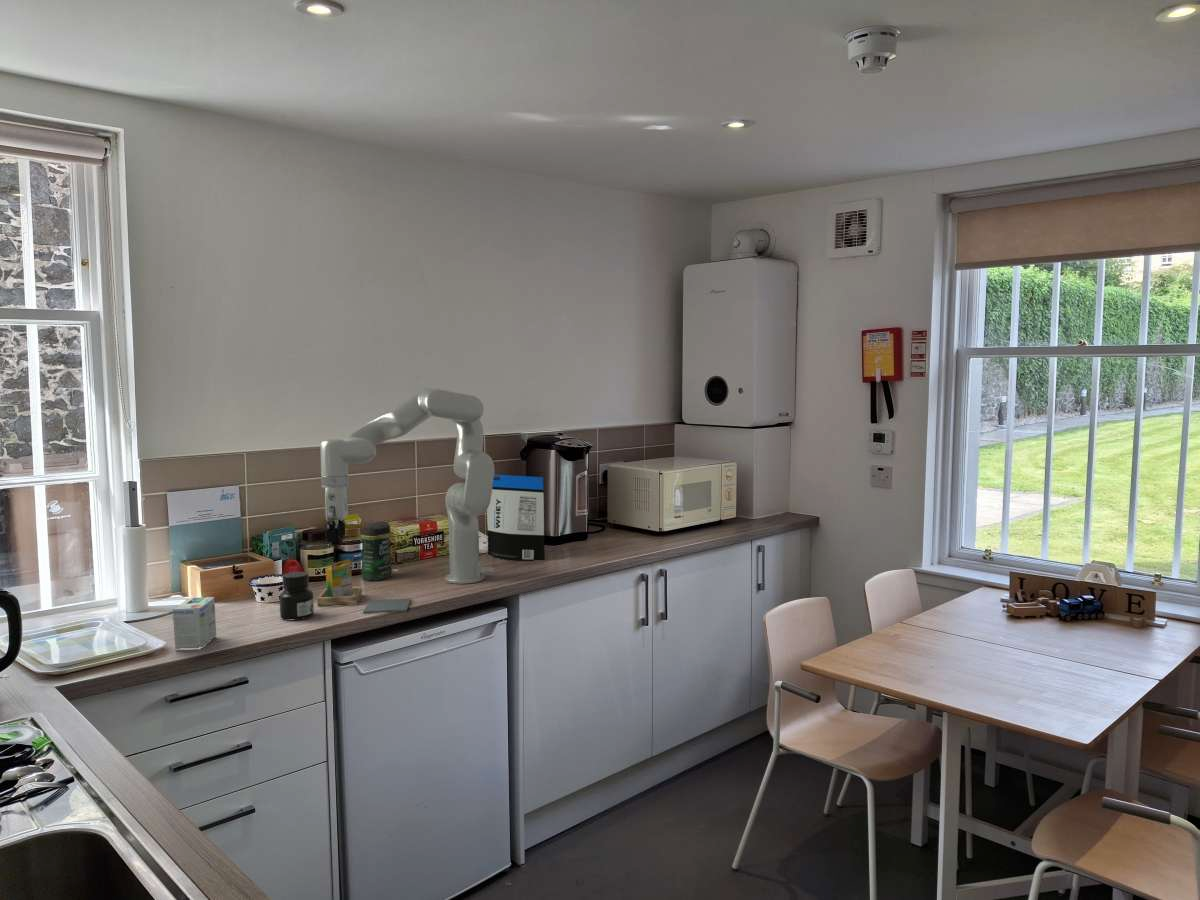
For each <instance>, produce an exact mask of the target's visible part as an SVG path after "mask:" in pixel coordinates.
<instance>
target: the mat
mask: <svg viewBox="0 0 1200 900" xmlns="http://www.w3.org/2000/svg"><path fill="white" fill-rule="evenodd" d="M411 601H412V598H390V599H389V598H388V599H387V598H386V599H369V600H368V602H367V604H366V606H365V607H364V610H362V613H365V614H372V613H371V612H388V613H405V612H406V613H407V611H408V608H409V607H408V606H410V604H409V603H411Z"/></svg>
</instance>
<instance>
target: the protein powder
mask: <svg viewBox="0 0 1200 900" xmlns="http://www.w3.org/2000/svg"><path fill="white" fill-rule="evenodd" d="M544 500H545V499H544V477H543V476H525V475H523V476H522V475H505V474H494V479H493V487H492V494H491V500H490V504H489V507H488V509H487V510H486V519H487V555H488V556H491V557H492V556H493V558H495V559H498V558H499V559H500V560H503V559H504V560H505V561H510V560H513V561H514V562H535V561H534V560H542V561H543V560H545V561H546V559H545V557H546V556H545V516H544V515H545V509H544V507H545V505H544V504H545V501H544ZM499 559H498V560H499Z"/></svg>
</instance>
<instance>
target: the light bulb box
mask: <svg viewBox="0 0 1200 900" xmlns="http://www.w3.org/2000/svg"><path fill="white" fill-rule="evenodd" d="M172 620H173V635H174V650H175V649H180V648H199V647H203V646H204V645H205V644H207V643H208V642H209V641H210V640H212V639H213V638H214V637H215V636H216V637H217V623H216V622H217V621H216V607H215V597H214V596H207V597H189V598H187V599H186V600H184V601H183V602H182V603H180V604H179V605H178V606H176V607H174V608H173V609H172ZM214 639H215V638H214ZM214 639H213V640H214ZM213 640H212V641H213ZM207 645H208V644H207Z"/></svg>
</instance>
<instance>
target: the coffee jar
mask: <svg viewBox="0 0 1200 900" xmlns="http://www.w3.org/2000/svg"><path fill="white" fill-rule="evenodd" d="M391 534H392V532H391V526H390V523H389V522H385V521H375V522H372V523H367V524H362V526H361V527H360V539H361V543H362V544H361V545H362V548H361V549H362V557H361V575H360V576H361V579H362V580H365V581H368V582H370V581H380V580H384V579H387V578H390V577H392V571H393V570H392V563H391V553H390V552H391V551H390V537H391Z"/></svg>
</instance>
